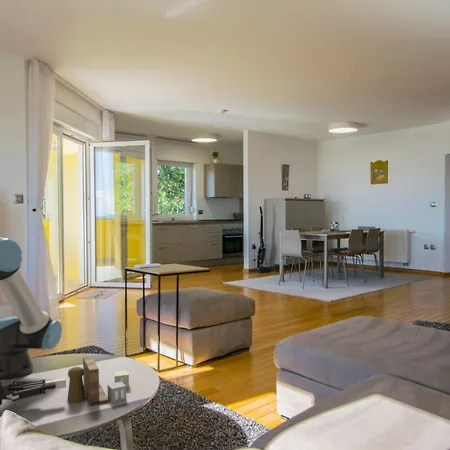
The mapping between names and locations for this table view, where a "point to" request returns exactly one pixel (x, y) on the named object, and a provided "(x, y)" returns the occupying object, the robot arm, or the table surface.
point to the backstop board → (92, 382)
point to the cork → (76, 385)
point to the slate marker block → (116, 392)
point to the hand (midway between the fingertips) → (65, 382)
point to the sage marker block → (122, 377)
